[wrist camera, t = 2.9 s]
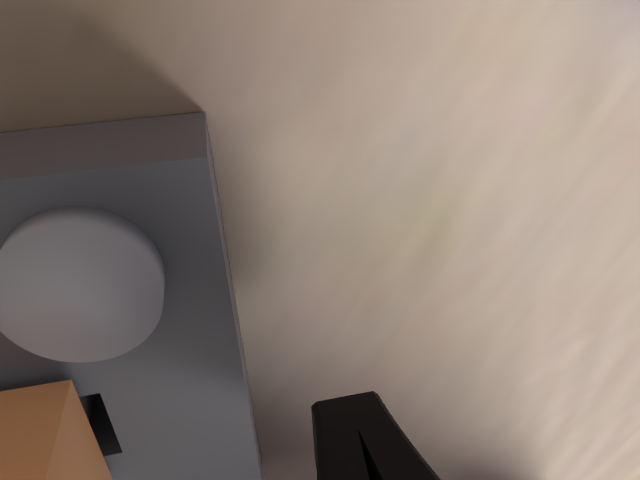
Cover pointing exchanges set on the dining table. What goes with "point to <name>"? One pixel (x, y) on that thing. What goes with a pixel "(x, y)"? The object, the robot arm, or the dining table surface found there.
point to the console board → (127, 293)
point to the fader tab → (48, 435)
